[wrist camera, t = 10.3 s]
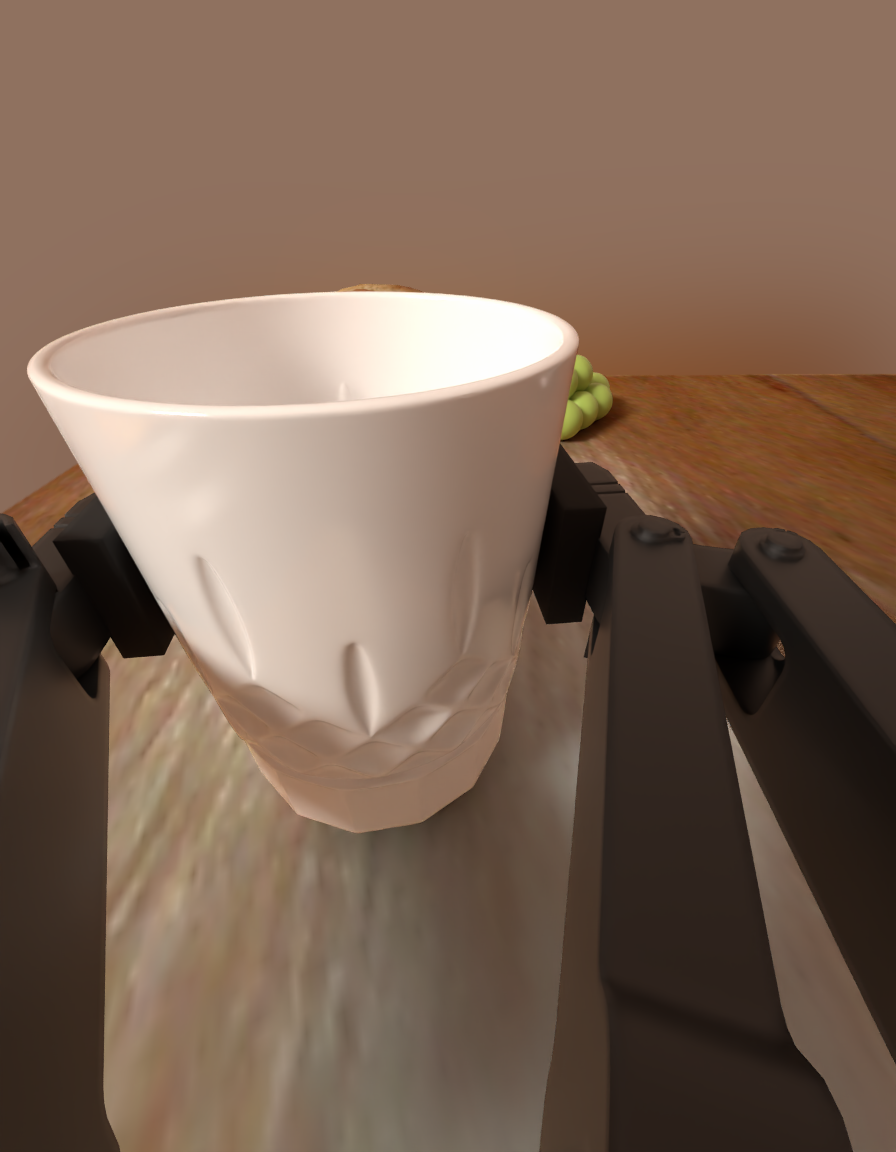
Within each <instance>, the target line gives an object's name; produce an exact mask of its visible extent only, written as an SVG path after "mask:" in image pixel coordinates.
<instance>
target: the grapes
mask: <svg viewBox="0 0 896 1152" xmlns="http://www.w3.org/2000/svg"><path fill="white" fill-rule="evenodd" d="M612 403H613V397H612V393H611V391H610V386H609V382H608V380H607V379H606V378H605V377H604V376H603V375H601V374H599V373H593V368H592V365H591V363H590V362H589V360H587V359H586V358H585V357H583V356H580V355H577V356H576V362H575V367H574V372H573V377H572V382H571V387H570V393H569V398H568V403H567V408H566V413H565V419H564V424H563V429H562V434H561V439H560V440H565V439H569V438H571V437H573V436H574V435H576V434H577V433H578V431H579V430H581V429H584V428H587V427H589V426H590V425H591V424H592V423H593V422H594V421H595V420H598V419H601V418H603V417H604V416H605V415H606V414H607V413H608V412H609V411H610V409H611V407H612Z"/></svg>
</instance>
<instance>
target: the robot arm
mask: <svg viewBox="0 0 896 1152" xmlns="http://www.w3.org/2000/svg"><path fill="white" fill-rule="evenodd" d="M533 591H534V594H535V597H536V599H537V602H538V604H539V607H540V609H541V612H542V615H543V617H544V620H545V622H546V624H558V623H570V622H582V618H583V613H584V609H585V604H586V600H587V602H588V604H589V606H590V608H591V610H592V612H593V614H594V617H593V621H592V625H591V629H590V633H589V638H588V642H587V646H586V650H585V654H584V657H585V658H588V661H587V672H586V684H585V695H584V707H583V719H582V730H581V742H580V754H579V765H578V777H577V788H576V800H575V812H574V823H573V835H572V847H571V858H570V870H569V881H568V893H567V905H566V916H565V928H564V940H563V951H562V963H561V974H560V986H559V998H558V1009H557V1021H556V1030H555V1039H554V1046H553V1052H552V1058H551V1063H550V1068H549V1074H548V1079H547V1087H546V1094H545V1101H544V1111H543V1120H542V1130H541V1140H540V1151H539V1152H853V1150H852V1146H851V1143H850V1140H849V1137H848V1133H847V1130H846V1127H845V1124H844V1120H843V1117H842V1115H841V1113H840V1111H839V1109H838V1107H837V1105H836V1103H835V1101H834V1099H833V1097H832V1095H831V1093H830V1091H829V1089H828V1087H827V1085H826V1082H825V1080H824V1079H823V1078H822V1077H821V1075H820V1074H819V1073H818V1072H817V1071H816V1070H815V1068H814V1067H813V1066H812V1065H811V1064H810V1063H809V1062H808V1060H807V1059H806V1058H805V1057H804V1056H803V1055H802V1053H801V1052H800V1051H799V1050H798V1049H797V1048H796V1046H795V1044H794V1042H793V1040H792V1038H791V1035H790V1033H789V1031H788V1029H787V1026H786V1022H785V1018H784V1015H783V1011H782V1007H781V1002H780V997H779V992H778V987H777V982H776V976H775V971H774V966H773V961H772V955H771V950H770V945H769V940H768V935H767V929H766V924H765V919H764V914H763V908H762V903H761V898H760V893H759V888H758V882H757V877H756V872H755V867H754V861H753V856H752V851H751V846H750V841H749V835H748V830H747V825H746V820H745V814H744V809H743V804H742V799H741V794H740V788H739V783H738V778H737V773H736V767H735V762H734V757H733V752H732V747H731V741H730V736H729V731H728V726H727V720H726V717H727V719H728V721H729V723H730V725H731V727H732V729H733V732H734V734H735V736H736V738H737V740H738V742H739V744H740V746H741V748H742V750H743V752H744V754H745V756H746V758H747V760H748V762H749V764H750V766H751V768H752V771H753V773H754V775H755V777H756V779H757V781H758V783H759V785H760V787H761V789H762V791H763V793H764V795H765V797H766V799H767V801H768V803H769V805H770V808H771V810H772V812H773V814H774V816H775V818H776V820H777V822H778V824H779V826H780V828H781V830H782V832H783V834H784V836H785V838H786V840H787V842H788V845H789V847H790V849H791V851H792V853H793V855H794V857H795V859H796V861H797V863H798V865H799V867H800V869H801V871H802V873H803V875H804V877H805V879H806V882H807V884H808V886H809V888H810V890H811V892H812V894H813V896H814V898H815V900H816V902H817V904H818V906H819V908H820V910H821V912H822V914H823V916H824V919H825V921H826V923H827V925H828V927H829V929H830V931H831V933H832V935H833V937H834V939H835V941H836V943H837V945H838V947H839V949H840V951H841V953H842V955H843V958H844V960H845V962H846V964H847V966H848V968H849V970H850V972H851V974H852V976H853V978H854V980H855V982H856V984H857V986H858V988H859V990H860V992H861V995H862V997H863V999H864V1001H865V1003H866V1005H867V1007H868V1009H869V1011H870V1013H871V1015H872V1017H873V1019H874V1021H875V1023H876V1025H877V1027H878V1029H879V1032H880V1034H881V1036H882V1038H883V1040H884V1042H885V1044H886V1046H887V1048H888V1050H889V1052H890V1054H891V1056H892V1058H893V1060H894V1062H895V1064H896V624H895V623H894V622H893V621H892V620H891V619H890V618H889V617H888V616H887V615H886V614H885V613H884V612H883V611H882V610H881V609H880V608H879V607H878V606H877V605H876V604H875V603H874V602H873V601H872V600H871V599H870V598H869V597H868V596H867V595H866V594H865V593H864V592H863V591H862V590H861V589H860V588H859V587H858V586H857V585H856V584H855V583H854V582H853V581H852V580H851V579H850V578H849V577H848V576H847V575H846V574H845V573H844V572H843V571H842V570H841V569H840V568H839V567H838V566H837V565H836V564H835V563H834V562H833V561H832V560H831V559H830V558H829V557H828V556H827V555H826V554H825V553H824V552H823V551H822V550H821V549H820V548H819V547H818V546H816V545H815V544H814V543H812V542H811V541H810V540H808V539H805V538H803V537H801V536H799V535H798V534H796V533H794V532H791V531H788V530H787V531H785V530H784V529H779V528H774V529H773V528H764V527H762V528H751V529H748V530H746V531H744V532H742V533H741V535H740V537H739V539H738V542H737V544H736V546H735V548H734V549H726V548H717V547H709V546H701V545H696V544H693V543H692V538H691V537H690V535H689V533H688V531H687V530H685V529H684V528H683V527H681V526H680V525H679V524H677V523H675V522H672V521H670V520H668V519H665V518H661V517H656V516H652V515H645V514H644V512H643V511H642V510H641V509H640V508H639V506H638V505H637V504H636V503H635V502H634V500H633V499H632V498H631V497H630V496H629V495H628V493H625V490H624V489H623V487H622V486H621V485H620V484H618V481H617V480H616V479H615V478H614V477H613V476H612V474H611V473H610V472H609V471H608V470H606V469H604V468H602V467H600V466H599V465H597V464H595V463H593V462H587V463H574V462H573V460H572V459H571V458H570V456H569V455H568V454H567V452H566V451H565V449H564V448H563V447H562V445H561V444H560V445H559V450H558V455H557V461H556V466H555V471H554V477H553V482H552V488H551V493H550V499H549V504H548V509H547V515H546V520H545V526H544V531H543V537H542V542H541V548H540V553H539V559H538V564H537V570H536V575H535V580H534V585H533ZM174 634H175V633H174V631H173V629H172V628H171V626H170V624H169V622H168V621H167V619H166V617H165V615H164V614H163V612H162V610H161V608H160V607H159V605H158V603H157V601H156V599H155V598H154V596H153V594H152V592H151V591H150V589H149V587H148V585H147V583H146V582H145V580H144V578H143V576H142V575H141V573H140V571H139V569H138V568H137V566H136V564H135V562H134V561H133V559H132V557H131V555H130V553H129V552H128V550H127V548H126V546H125V545H124V543H123V541H122V539H121V538H120V536H119V534H118V532H117V531H116V529H115V527H114V525H113V524H112V522H111V520H110V518H109V517H108V515H107V513H106V511H105V510H104V508H103V506H102V504H101V503H100V501H99V499H98V497H97V496H96V494H95V493H93V494H91V495H90V496H88V497H86V498H84V499H82V500H81V501H79V502H77V503H76V504H75V505H74V506H73V507H72V508H71V509H70V510H69V511H68V512H67V513H66V514H65V518H61V519H60V520H59V521H58V522H57V523H56V524H55V525H54V528H52V529H50V530H49V531H48V532H47V533H46V534H45V535H44V536H43V537H42V538H41V539H40V540H39V541H37V542H36V543H35V544H34V545H33V546H32V547H31V545H30V544H29V542H28V541H27V539H26V537H25V536H24V534H23V533H22V531H21V530H20V528H19V527H18V525H17V524H16V522H15V521H14V519H13V517H10V516H8V515H6V514H0V1152H120V1148H119V1144H118V1142H117V1140H116V1137H115V1135H114V1133H113V1130H112V1128H111V1126H110V1123H109V1121H108V1119H107V1115H106V1110H105V1105H104V1092H103V1069H104V1007H105V946H106V884H107V823H108V761H109V700H110V670H109V667H108V664H107V662H106V661H105V659H104V658H103V656H102V655H101V651H102V650H103V648H104V646H105V645H106V643H107V642H108V640H109V638H110V637H111V638H112V640H113V642H114V643H115V645H116V647H117V648H118V650H119V652H120V653H121V655H122V656H123V658H134V657H147V656H159V655H165V653H166V650H167V648H168V646H169V644H170V642H171V640H172V638H173V636H174ZM780 640H781V642H782V644H783V646H784V651H785V657H784V656H783V655H782V654H781V652H780V651H779V650H778V648H777V647H776V646H777V644H778V642H779V641H780Z"/></svg>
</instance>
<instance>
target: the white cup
mask: <svg viewBox="0 0 896 1152" xmlns="http://www.w3.org/2000/svg"><path fill="white" fill-rule="evenodd" d="M578 346H579V337H578V334H577V332H576V330H575V329H574V328H573V327H572V326H571V325H570V324H569V323H567V322H566V321H564V320H563V319H561V318H559V317H557V316H555V315H553V314H550V313H548V312H545V311H542V310H539V309H536V308H533V307H529V306H525V305H520V304H516V303H511V302H506V301H500V300H494V299H487V298H479V297H472V296H461V295H451V294H438V293H420V292H387V291H354V292H318V293H299V294H282V295H269V296H257V297H246V298H237V299H228V300H219V301H212V302H204V303H197V304H191V305H183V306H177V307H171V308H165V309H160V310H154V311H150V312H144V313H139V314H135V315H130V316H126V317H122V318H118V319H114V320H110V321H106V322H103V323H100V324H96V325H93V326H90V327H87V328H84V329H81V330H78V331H76V332H73V333H70V334H68V335H65V336H63V337H61V338H59V339H57V340H55V341H53V342H51V343H49V344H48V345H46V346H45V347H43V348H42V349H41V350H39V351H38V352H37V353H36V354H35V355H34V356H33V357H32V358H31V360H30V362H29V364H28V367H27V373H28V377H29V379H30V381H31V383H32V384H33V386H34V388H35V390H36V391H37V393H38V395H39V397H40V398H41V400H42V402H43V403H44V405H45V407H46V408H47V410H48V412H49V414H50V416H51V417H52V419H53V421H54V422H55V424H56V426H57V428H58V429H59V431H60V433H61V435H62V436H63V438H64V440H65V442H66V443H67V445H68V447H69V448H70V450H71V452H72V454H73V455H74V457H75V459H76V461H77V462H78V464H79V466H80V468H81V469H82V471H83V473H84V475H85V476H86V478H87V480H88V482H89V483H90V485H91V487H92V489H93V490H94V492H95V494H96V496H97V497H98V499H99V501H100V503H101V504H102V506H103V508H104V510H105V511H106V513H107V515H108V517H109V518H110V520H111V522H112V524H113V525H114V527H115V529H116V531H117V532H118V534H119V536H120V538H121V539H122V541H123V543H124V545H125V546H126V548H127V550H128V552H129V553H130V555H131V557H132V559H133V561H134V562H135V564H136V566H137V568H138V569H139V571H140V573H141V575H142V576H143V578H144V580H145V582H146V583H147V585H148V587H149V589H150V591H151V592H152V594H153V596H154V598H155V599H156V601H157V603H158V605H159V607H160V608H161V610H162V612H163V614H164V615H165V617H166V619H167V621H168V622H169V624H170V626H171V628H172V629H173V631H174V633H175V635H176V637H177V638H178V640H179V642H180V644H181V645H182V647H183V649H184V650H185V652H186V654H187V656H188V657H189V659H190V661H191V662H192V664H193V666H194V667H195V669H196V670H197V672H198V674H199V675H200V677H201V678H202V680H203V681H204V683H205V684H206V686H207V687H208V689H209V691H210V692H211V694H212V695H213V696H214V698H215V700H216V702H217V703H218V705H219V707H220V709H221V710H222V712H223V714H224V715H225V717H226V719H227V720H228V722H229V723H230V725H231V726H232V728H233V729H234V731H235V732H236V733H237V735H238V736H239V737H240V738H241V739H242V740H244V741H245V743H246V744H247V746H248V748H249V750H250V752H251V754H252V756H253V758H254V759H255V761H256V763H257V765H258V767H259V769H260V770H261V772H262V774H263V775H264V776H265V777H266V778H267V780H268V781H269V782H270V783H271V784H272V786H273V787H274V788H275V789H276V790H277V791H278V793H279V794H280V795H281V796H282V797H283V798H284V800H285V801H286V802H287V803H288V804H289V806H290V807H291V808H292V809H293V810H294V811H295V813H296V814H298V815H300V816H303V817H306V818H309V819H312V820H315V821H318V822H322V823H325V824H328V825H331V826H334V827H337V828H340V829H343V830H347V831H350V832H353V833H363V832H369V831H375V830H381V829H387V828H393V827H399V826H405V825H411V824H417V823H421V822H423V821H425V820H426V819H428V818H429V817H431V816H432V815H434V814H435V813H436V812H438V811H439V810H441V809H442V808H444V807H445V806H447V805H448V804H449V803H451V802H452V801H454V800H455V799H457V798H458V797H460V796H461V795H462V794H464V793H465V792H467V791H468V790H470V789H471V788H472V787H473V786H474V785H475V783H476V781H477V779H478V778H479V776H480V774H481V772H482V770H483V768H484V766H485V765H486V763H487V761H488V759H489V757H490V755H491V754H492V752H493V750H494V748H495V746H496V744H497V743H498V741H499V738H500V734H501V728H502V722H503V716H504V709H505V703H506V697H507V691H508V688H509V685H510V682H511V679H512V676H513V673H514V670H515V666H516V663H517V659H518V656H519V651H520V645H521V639H522V633H523V626H524V623H525V619H526V615H527V612H528V608H529V604H530V600H531V595H532V590H533V585H534V580H535V575H536V570H537V564H538V559H539V553H540V548H541V542H542V537H543V531H544V526H545V520H546V515H547V509H548V504H549V499H550V493H551V488H552V482H553V477H554V471H555V466H556V461H557V455H558V450H559V445H560V439H561V434H562V429H563V424H564V419H565V413H566V408H567V403H568V398H569V393H570V387H571V382H572V377H573V372H574V367H575V362H576V356H577V351H578Z"/></svg>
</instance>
